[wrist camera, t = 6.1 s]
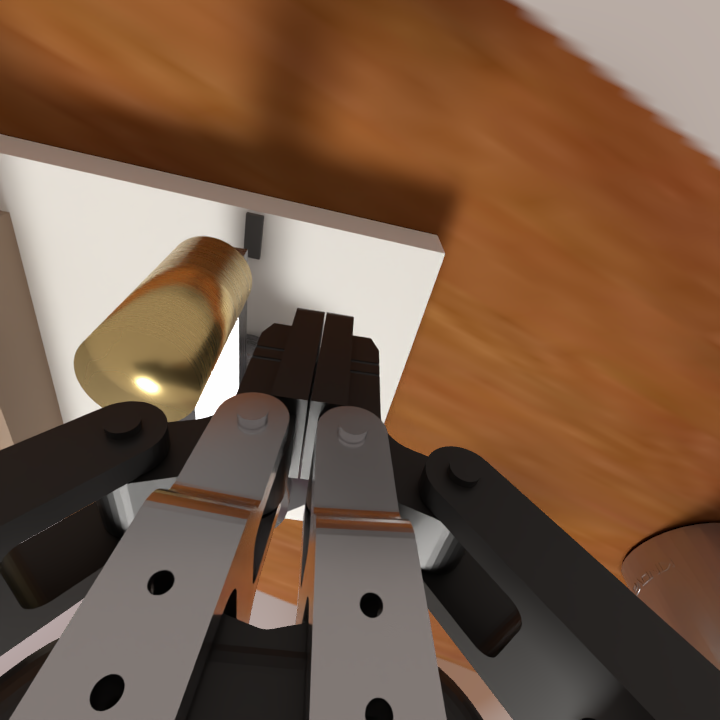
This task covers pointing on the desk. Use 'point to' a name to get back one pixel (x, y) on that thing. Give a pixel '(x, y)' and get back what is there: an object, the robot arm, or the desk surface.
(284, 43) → the desk surface
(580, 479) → the desk surface
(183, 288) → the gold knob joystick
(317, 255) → the stand
